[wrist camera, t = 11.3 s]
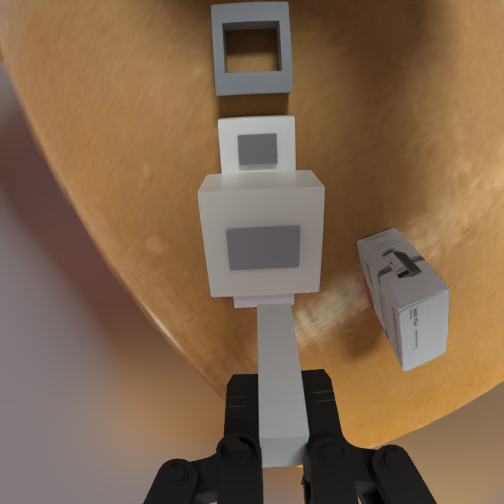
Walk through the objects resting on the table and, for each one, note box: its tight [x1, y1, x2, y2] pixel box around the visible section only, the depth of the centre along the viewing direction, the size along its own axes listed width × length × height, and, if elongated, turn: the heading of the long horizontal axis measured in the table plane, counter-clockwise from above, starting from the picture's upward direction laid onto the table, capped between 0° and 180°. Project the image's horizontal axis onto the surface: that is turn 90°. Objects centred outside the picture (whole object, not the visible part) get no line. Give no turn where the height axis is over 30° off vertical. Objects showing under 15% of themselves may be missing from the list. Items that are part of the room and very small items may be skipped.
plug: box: [197, 170, 325, 297], centre depth 25 cm, size 8×8×8 cm
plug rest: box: [211, 2, 294, 96], centre depth 21 cm, size 8×6×3 cm
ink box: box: [356, 228, 449, 372], centre depth 27 cm, size 9×5×12 cm, turn 21°
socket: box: [218, 115, 296, 308], centre depth 28 cm, size 18×6×4 cm, turn 3°
